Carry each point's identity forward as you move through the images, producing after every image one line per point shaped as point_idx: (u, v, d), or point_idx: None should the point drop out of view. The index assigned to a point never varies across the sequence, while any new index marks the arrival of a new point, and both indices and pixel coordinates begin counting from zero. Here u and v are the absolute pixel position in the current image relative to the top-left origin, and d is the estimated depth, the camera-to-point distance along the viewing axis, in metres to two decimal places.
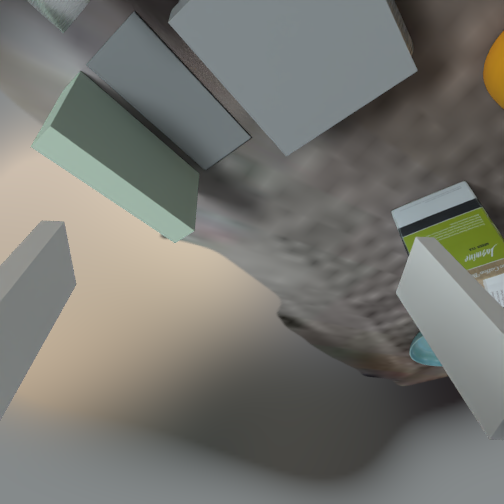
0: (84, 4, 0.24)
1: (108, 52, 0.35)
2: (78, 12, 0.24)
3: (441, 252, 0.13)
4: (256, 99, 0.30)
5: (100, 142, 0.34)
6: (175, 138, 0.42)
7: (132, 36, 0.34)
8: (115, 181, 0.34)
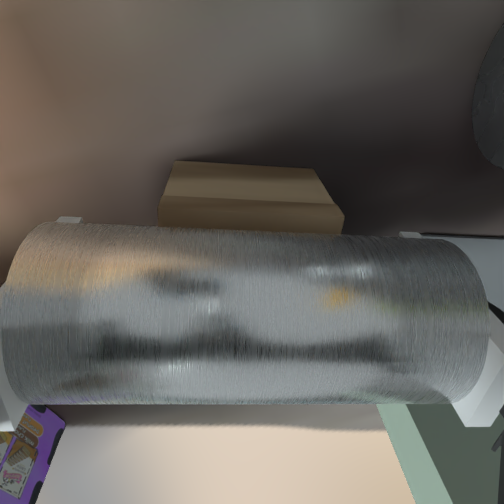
0: (484, 353, 0.10)
1: None
2: (479, 374, 0.10)
3: None
4: None
5: None
6: None
7: None
8: None
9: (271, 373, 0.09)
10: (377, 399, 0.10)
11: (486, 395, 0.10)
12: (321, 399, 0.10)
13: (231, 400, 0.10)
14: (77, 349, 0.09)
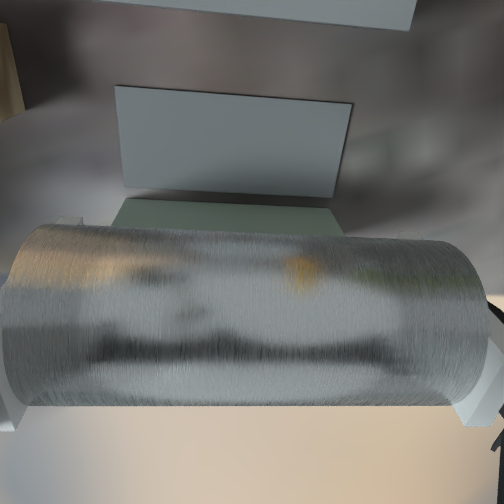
0: (484, 355, 0.10)
1: (129, 154, 0.27)
2: (479, 376, 0.10)
3: None
4: None
5: None
6: (266, 187, 0.29)
7: (134, 114, 0.26)
8: None
9: (271, 374, 0.09)
10: (377, 401, 0.10)
11: (486, 395, 0.10)
12: (321, 401, 0.10)
13: (231, 402, 0.10)
14: (78, 351, 0.09)
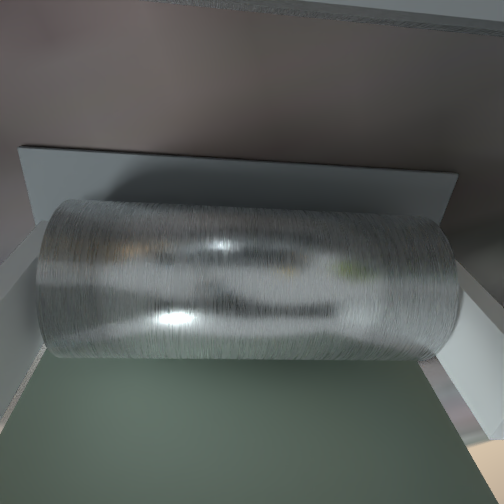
0: (453, 310, 0.11)
1: None
2: (449, 329, 0.11)
3: None
4: None
5: (112, 486, 0.11)
6: None
7: (61, 195, 0.14)
8: None
9: (268, 326, 0.11)
10: (361, 353, 0.12)
11: None
12: (312, 352, 0.12)
13: (233, 353, 0.12)
14: (102, 303, 0.10)
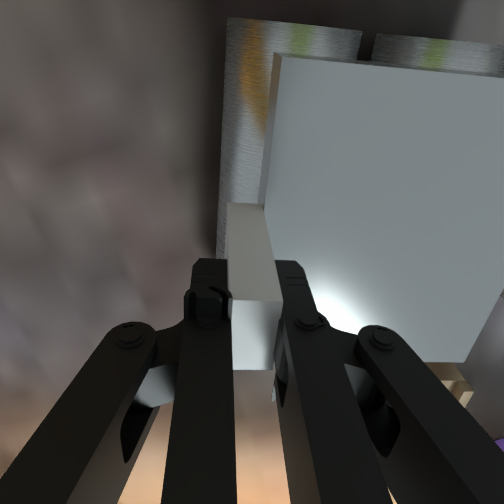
0: None
1: None
2: None
3: (257, 215, 0.15)
4: None
5: None
6: None
7: None
8: None
9: None
10: None
11: (254, 338, 0.11)
12: None
13: None
14: None
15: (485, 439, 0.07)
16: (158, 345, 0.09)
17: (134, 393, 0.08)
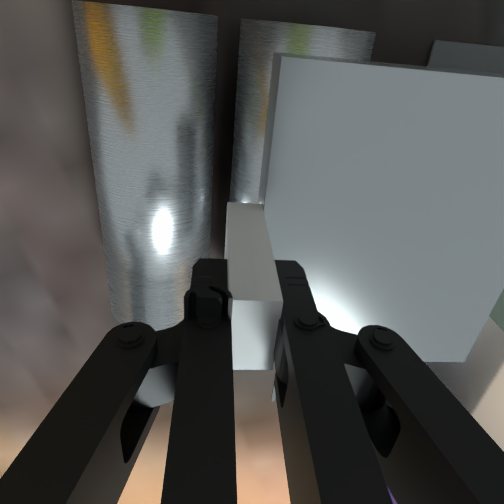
0: None
1: None
2: None
3: (257, 215, 0.15)
4: None
5: None
6: None
7: None
8: None
9: None
10: None
11: (254, 338, 0.11)
12: None
13: None
14: None
15: (485, 440, 0.07)
16: (158, 345, 0.09)
17: (134, 393, 0.08)
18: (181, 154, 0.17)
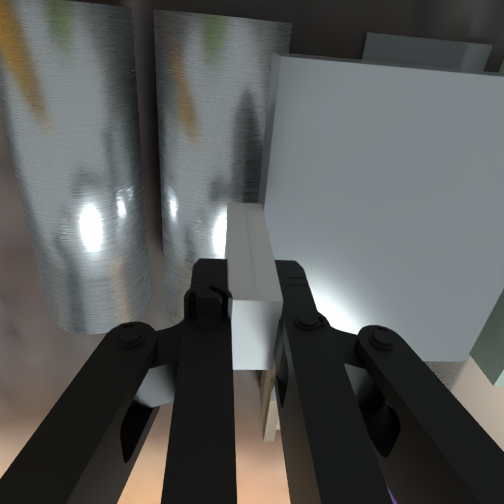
0: None
1: None
2: None
3: (257, 215, 0.15)
4: None
5: (498, 302, 0.21)
6: None
7: None
8: None
9: None
10: None
11: (254, 338, 0.11)
12: None
13: None
14: None
15: (484, 439, 0.07)
16: (158, 345, 0.09)
17: (134, 393, 0.08)
18: (95, 149, 0.17)
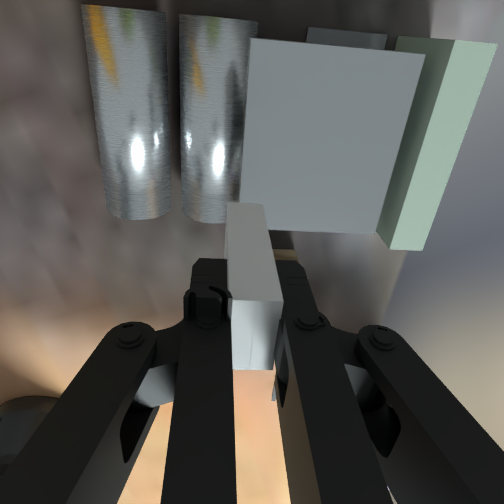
0: None
1: None
2: None
3: (257, 215, 0.15)
4: (385, 141, 0.29)
5: (392, 196, 0.33)
6: None
7: None
8: (421, 176, 0.30)
9: None
10: None
11: (255, 338, 0.11)
12: None
13: None
14: None
15: (485, 439, 0.07)
16: (158, 345, 0.09)
17: (134, 393, 0.08)
18: (145, 94, 0.29)
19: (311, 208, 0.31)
